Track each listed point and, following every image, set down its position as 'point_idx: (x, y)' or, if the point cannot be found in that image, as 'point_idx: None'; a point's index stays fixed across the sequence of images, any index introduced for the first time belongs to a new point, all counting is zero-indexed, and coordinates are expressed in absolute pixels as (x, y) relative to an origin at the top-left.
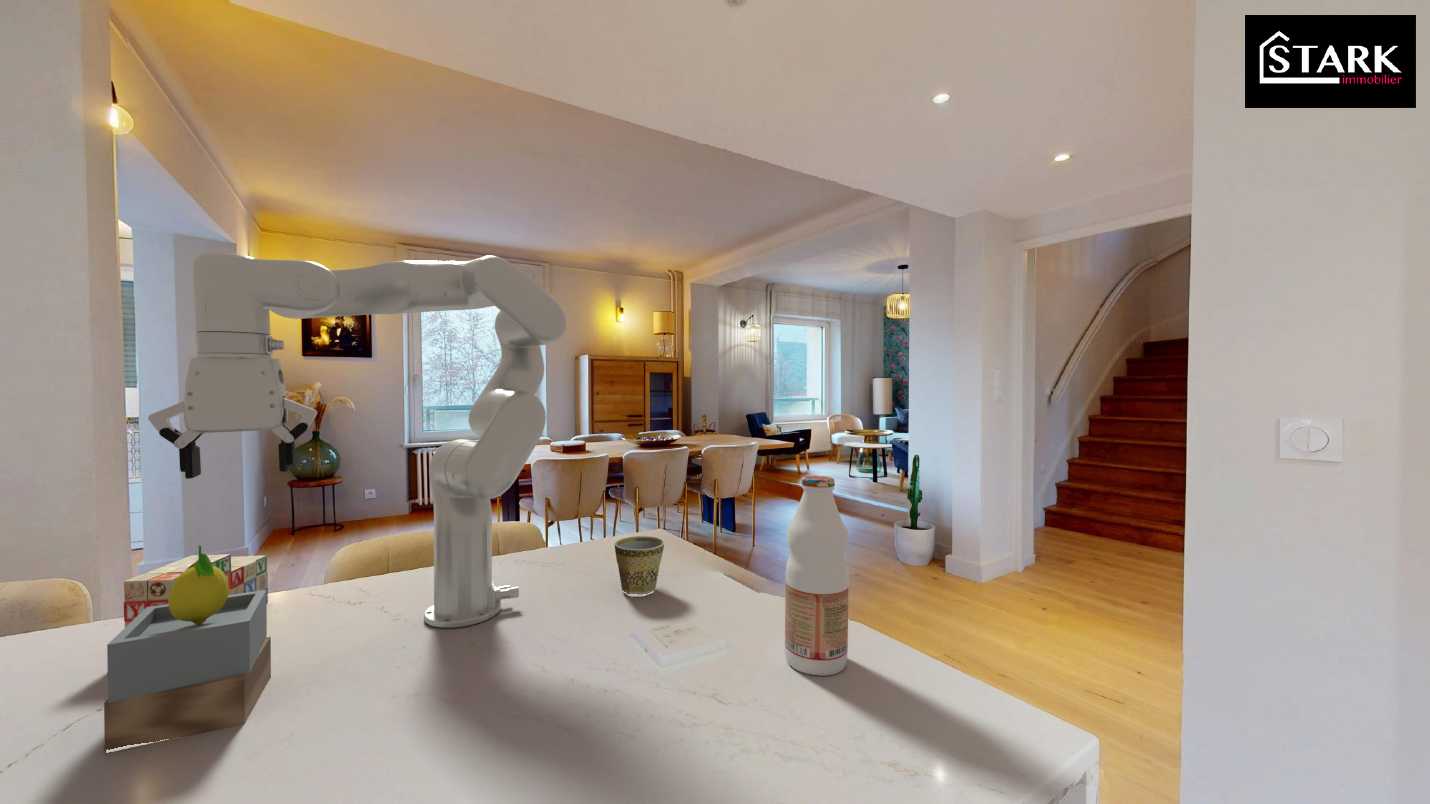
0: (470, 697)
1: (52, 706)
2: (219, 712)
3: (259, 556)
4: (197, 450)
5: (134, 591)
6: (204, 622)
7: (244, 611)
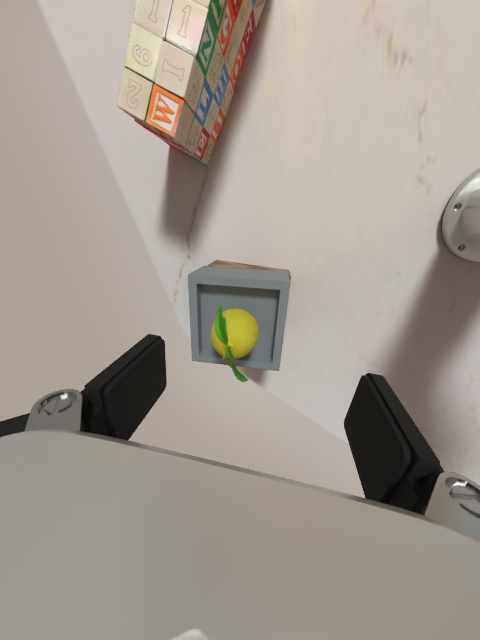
0: (402, 387)
1: (156, 230)
2: None
3: None
4: (120, 403)
5: (138, 119)
6: None
7: (271, 305)
